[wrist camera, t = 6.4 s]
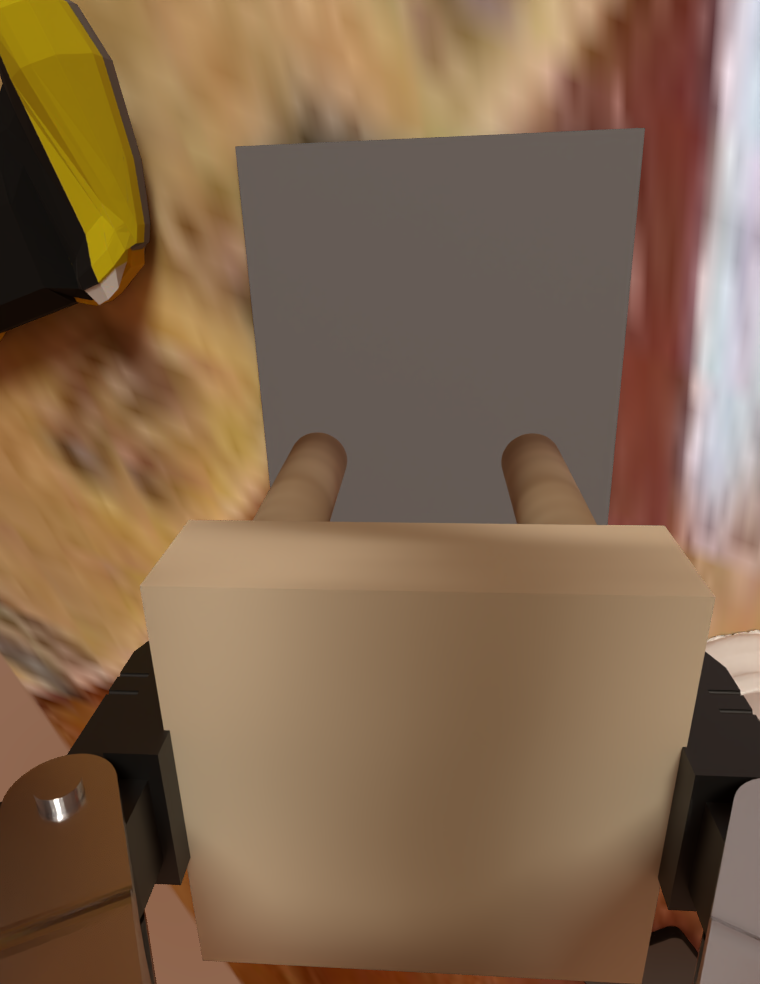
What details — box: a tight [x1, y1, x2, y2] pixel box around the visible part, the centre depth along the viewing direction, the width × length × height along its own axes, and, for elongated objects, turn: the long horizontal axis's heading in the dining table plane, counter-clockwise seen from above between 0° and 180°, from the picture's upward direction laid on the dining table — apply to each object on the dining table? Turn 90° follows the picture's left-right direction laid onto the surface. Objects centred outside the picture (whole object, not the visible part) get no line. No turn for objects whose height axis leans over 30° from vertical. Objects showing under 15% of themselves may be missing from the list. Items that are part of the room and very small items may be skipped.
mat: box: [236, 128, 645, 525], centre depth 30 cm, size 18×15×1 cm
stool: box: [140, 432, 715, 984], centre depth 12 cm, size 6×6×7 cm
